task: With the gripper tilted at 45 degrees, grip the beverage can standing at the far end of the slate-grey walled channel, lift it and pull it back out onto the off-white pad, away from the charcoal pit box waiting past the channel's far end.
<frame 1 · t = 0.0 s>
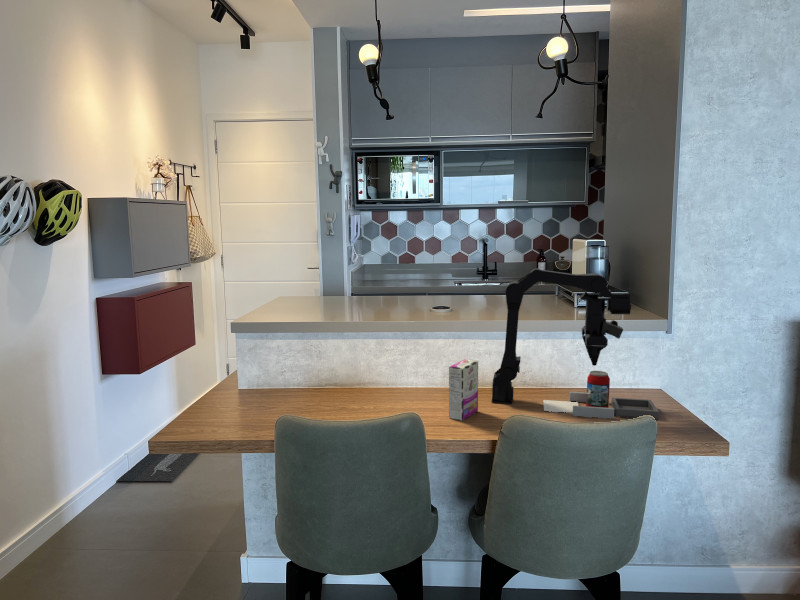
hand: (592, 362, 194), 15 cm above the breakfast bar, fingers open, 9 cm apart
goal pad: (561, 407, 195), on the breakfast bar
channel walls: (590, 409, 193), on the breakfast bar
candy bar box: (463, 415, 188), on the breakfast bar
beverage can: (597, 410, 193), on the breakfast bar
pit box: (633, 411, 191), on the breakfast bar
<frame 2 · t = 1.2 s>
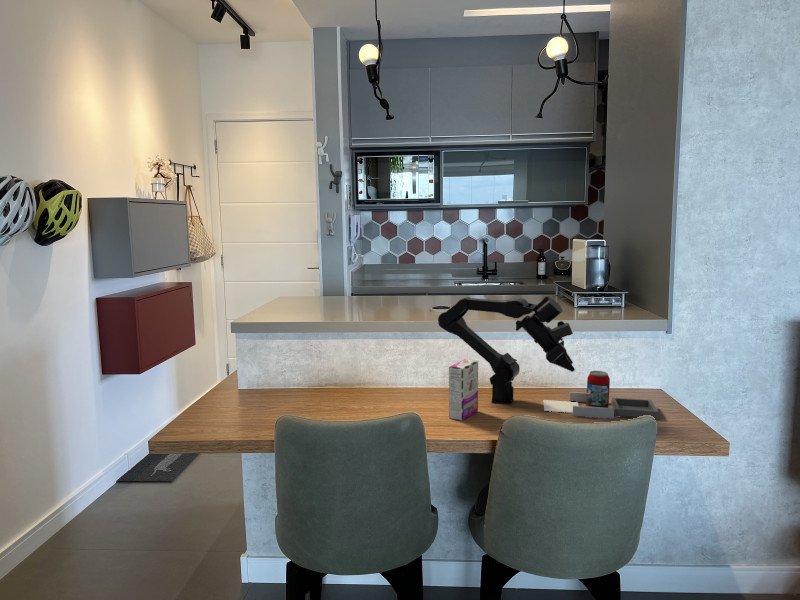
hand: (572, 367, 193), 13 cm above the breakfast bar, fingers open, 9 cm apart
nothing on the breakfast bar moved.
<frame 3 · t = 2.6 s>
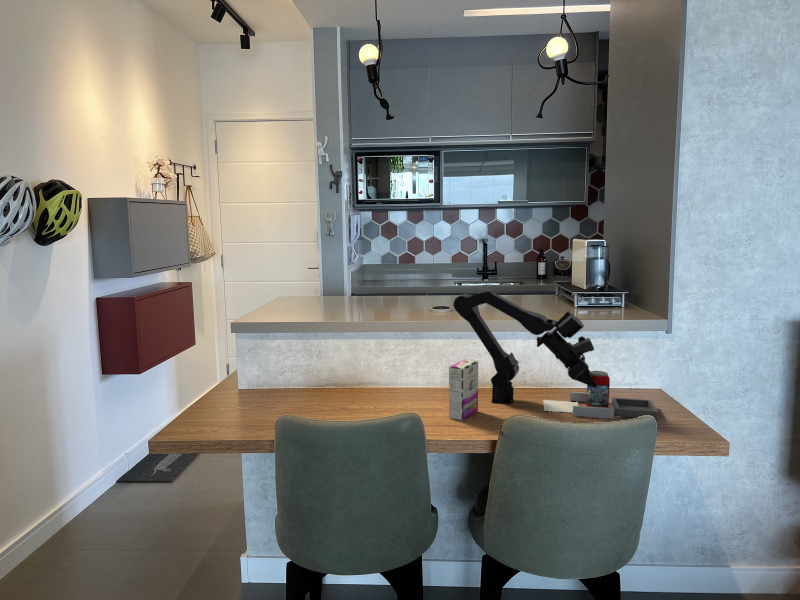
hand: (594, 382, 192), 9 cm above the breakfast bar, fingers open, 9 cm apart
nothing on the breakfast bar moved.
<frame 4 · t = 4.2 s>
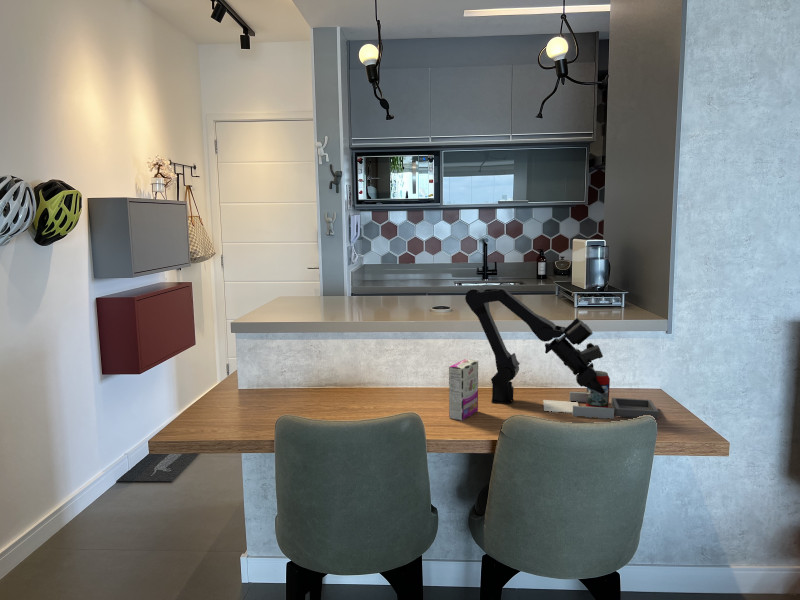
hand: (602, 389, 192), 7 cm above the breakfast bar, fingers closed on beverage can, 7 cm apart
beverage can: (597, 410, 193), on the breakfast bar, touching gripper
everything else where it was.
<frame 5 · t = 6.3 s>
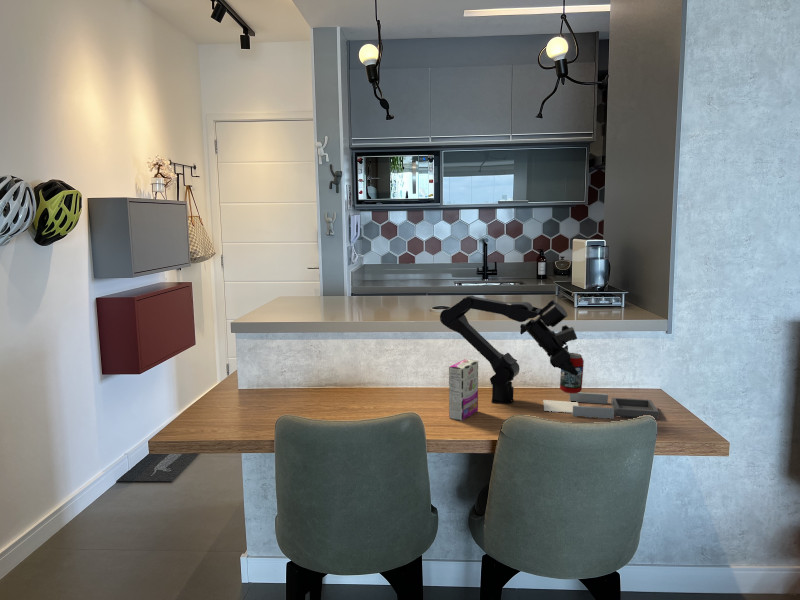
hand: (576, 371, 193), 12 cm above the breakfast bar, fingers closed on beverage can, 7 cm apart
beverage can: (570, 392, 194), point 5 cm above the breakfast bar, touching gripper
everything else where it was.
when the fingers open (8 cm above the breakfast bar, at t = 8.3 s): beverage can drops 1 cm, resting on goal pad.
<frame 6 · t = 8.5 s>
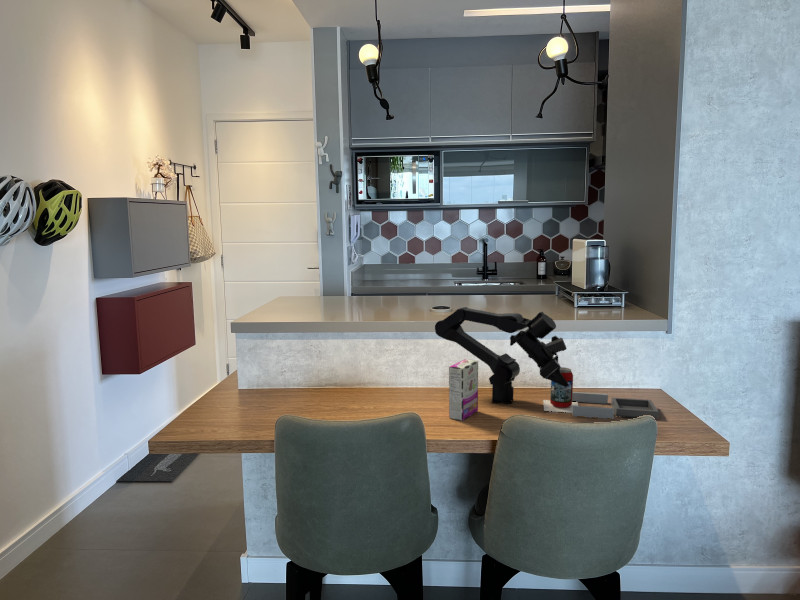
hand: (566, 382, 194), 8 cm above the breakfast bar, fingers open, 9 cm apart
beverage can: (560, 406, 196), resting on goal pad
everything else where it was.
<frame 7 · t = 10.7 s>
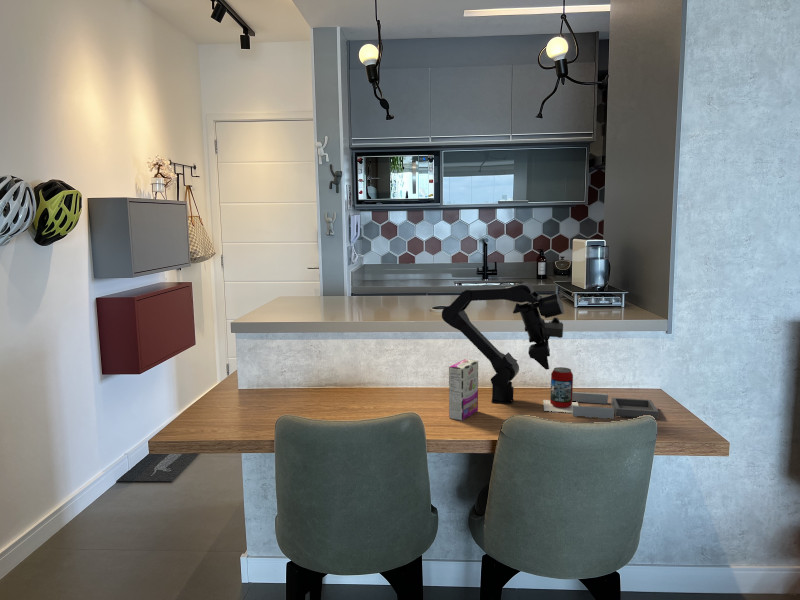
hand: (548, 362, 199), 13 cm above the breakfast bar, fingers open, 9 cm apart
nothing on the breakfast bar moved.
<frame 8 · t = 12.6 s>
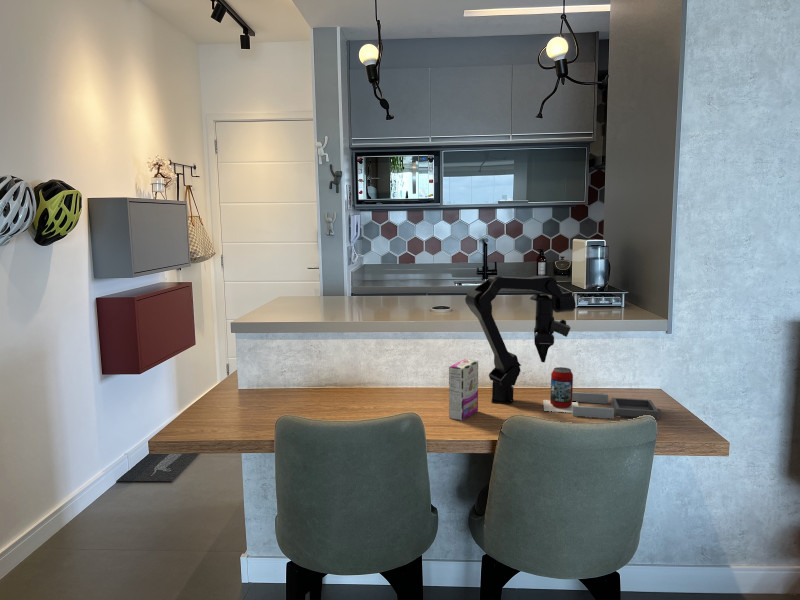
hand: (542, 358, 205), 13 cm above the breakfast bar, fingers open, 9 cm apart
nothing on the breakfast bar moved.
at the end: beverage can inside the target area on the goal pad (0.4 cm from its centre), point 0.2 cm above the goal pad's base; beverage can tilted 0°; beverage can touching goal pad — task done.
